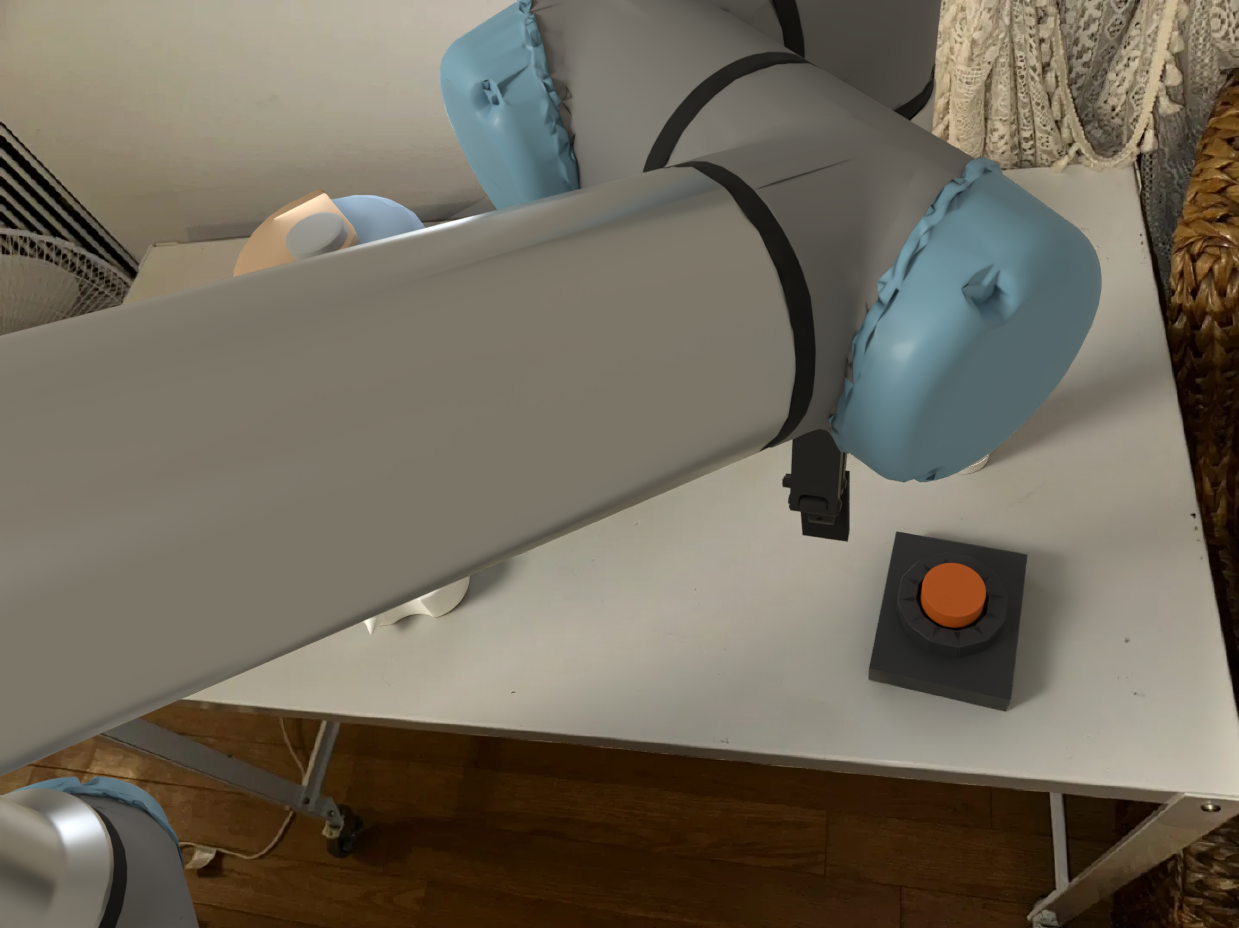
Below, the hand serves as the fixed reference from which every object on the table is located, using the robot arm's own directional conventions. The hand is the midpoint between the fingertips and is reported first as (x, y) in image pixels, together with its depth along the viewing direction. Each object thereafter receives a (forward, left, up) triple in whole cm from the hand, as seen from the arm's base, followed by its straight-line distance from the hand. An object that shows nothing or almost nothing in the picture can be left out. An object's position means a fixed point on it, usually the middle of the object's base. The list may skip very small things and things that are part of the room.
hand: (843, 443), depth 59 cm
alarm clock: (+17, +53, -14) cm, 57 cm away
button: (-4, -8, -10) cm, 14 cm away
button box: (-4, -8, -14) cm, 17 cm away
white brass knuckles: (-9, +38, -14) cm, 41 cm away
